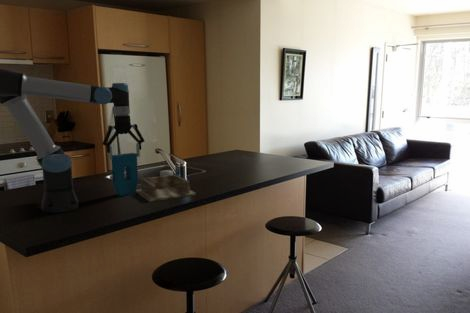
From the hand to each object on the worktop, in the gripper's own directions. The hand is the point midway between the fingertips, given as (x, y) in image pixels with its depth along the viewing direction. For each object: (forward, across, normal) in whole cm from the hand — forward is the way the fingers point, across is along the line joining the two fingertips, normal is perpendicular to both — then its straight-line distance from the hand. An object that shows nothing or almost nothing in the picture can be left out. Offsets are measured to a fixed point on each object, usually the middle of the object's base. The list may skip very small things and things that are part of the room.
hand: (124, 157), depth 199 cm
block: (+18, 0, 0) cm, 19 cm away
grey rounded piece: (+19, +24, +6) cm, 31 cm away
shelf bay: (+18, +16, -10) cm, 27 cm away
